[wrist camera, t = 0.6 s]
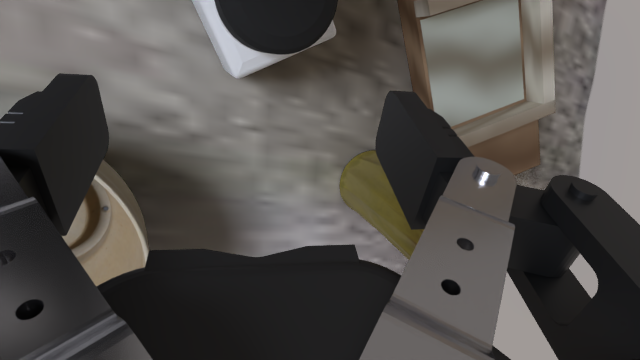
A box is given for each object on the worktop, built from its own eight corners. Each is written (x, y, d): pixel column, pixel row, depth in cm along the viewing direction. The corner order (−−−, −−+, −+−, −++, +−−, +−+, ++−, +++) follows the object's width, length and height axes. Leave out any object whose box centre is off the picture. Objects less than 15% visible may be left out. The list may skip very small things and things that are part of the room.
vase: (337, 214, 37) (416, 305, 24) (339, 151, 35) (426, 214, 22) (395, 207, 39) (498, 289, 26) (401, 147, 37) (514, 203, 24)
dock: (393, -20, 32) (423, -29, 28) (507, -53, 34) (550, -66, 30) (431, 195, 40) (458, 212, 36) (521, 157, 42) (557, 170, 38)
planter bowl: (167, 286, 34) (159, 383, 25) (-65, 311, 29) (-191, 445, 20) (156, 98, 29) (139, 126, 20) (-126, 91, 25) (-335, 123, 15)
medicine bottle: (308, 37, 31) (371, 33, 21) (225, 73, 30) (246, 90, 20) (272, -62, 28) (324, -126, 18) (179, -25, 27) (173, -70, 17)
